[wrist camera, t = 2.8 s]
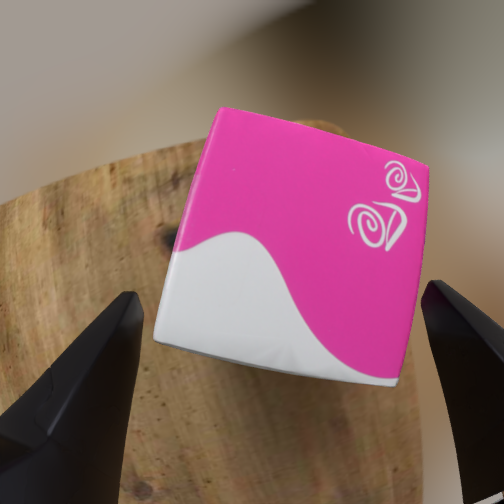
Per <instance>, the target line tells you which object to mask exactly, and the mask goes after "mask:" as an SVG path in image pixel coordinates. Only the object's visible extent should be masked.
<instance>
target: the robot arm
mask: <svg viewBox="0 0 504 504" xmlns="http://www.w3.org/2000/svg"><path fill="white" fill-rule="evenodd" d="M421 308H422V312H423V316H424V320H425V325H426V329H427V334H428V339H429V343H430V347H431V351H432V354H433V357H434V361H435V364H436V368H437V371H438V375H439V378H440V382H441V386H442V389H443V393H444V397H445V401H446V405H447V410H448V414H449V418H450V423H451V427H452V432H453V437H454V442H455V448H456V453H457V460H458V466H459V472H460V479H461V486H462V495H463V503H464V504H474V503H476V502H479V501H481V500H484V499H486V498H488V497H491V496H493V495H495V494H498V493H500V492H502V494H503V498H501V499H499V500H497V501H496V502H494V503H492V504H504V329H503V328H502V327H501V326H500V325H498V324H497V323H496V322H495V321H494V320H492V319H491V318H490V317H489V316H487V315H486V314H485V313H484V312H482V311H481V310H480V309H479V308H477V307H476V306H475V305H473V304H472V303H471V302H470V301H468V300H467V299H466V298H464V297H463V296H462V295H460V294H459V293H458V292H457V291H455V290H454V289H453V288H451V287H450V286H449V285H447V284H446V283H445V282H443V281H442V280H431V281H430V282H428V284H427V287H426V289H425V291H424V294H423V296H422V298H421ZM143 320H144V312H143V308H142V306H141V303H140V300H139V297H138V294H137V293H136V292H134V291H124V292H122V293H121V294H120V295H119V296H118V297H117V298H116V299H115V300H114V301H113V302H112V303H111V304H110V305H109V306H108V307H107V308H106V309H105V310H104V311H103V312H102V313H101V314H100V315H99V316H98V317H97V318H96V319H95V320H94V321H93V322H92V323H91V324H90V325H89V326H88V327H87V328H86V329H85V330H84V331H83V332H82V333H81V334H80V335H79V336H78V337H77V338H76V339H75V340H74V341H73V342H72V343H71V344H70V345H69V347H68V348H67V349H66V350H65V351H64V352H63V353H62V354H61V355H60V356H59V357H58V358H57V359H56V360H55V361H54V363H53V364H52V365H51V366H50V368H48V369H47V370H46V371H45V372H44V373H43V374H42V376H41V377H40V378H39V379H38V380H37V381H36V382H35V383H34V384H33V385H32V386H31V387H30V388H29V389H28V390H27V391H26V392H25V393H24V394H23V395H22V396H21V397H20V398H19V399H18V400H17V401H16V402H15V403H13V404H12V405H11V406H10V407H9V408H8V409H7V410H6V411H5V412H4V413H3V414H2V415H1V416H0V504H118V497H119V488H120V483H119V482H120V478H121V469H122V462H123V454H124V447H125V440H126V434H127V427H128V421H129V415H130V409H131V403H132V398H133V392H134V387H135V382H136V376H137V371H138V366H139V360H140V350H141V339H142V329H143Z"/></svg>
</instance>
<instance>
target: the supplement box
mask: <svg viewBox="0 0 504 504" xmlns="http://www.w3.org/2000/svg"><path fill="white" fill-rule="evenodd" d="M428 192H429V167H428V166H426V165H425V164H422V163H420V162H418V161H415V160H413V159H410V158H408V157H405V156H402V155H399V154H397V153H394V152H391V151H388V150H385V149H381V148H379V147H375V146H372V145H368V144H365V143H361V142H359V141H355V140H352V139H349V138H345V137H342V136H339V135H336V134H332V133H328V132H325V131H322V130H319V129H315V128H312V127H308V126H304V125H301V124H297V123H293V122H289V121H285V120H281V119H277V118H273V117H269V116H265V115H260V114H256V113H251V112H247V111H243V110H238V109H232V108H227V107H221V108H220V109H219V110H218V112H217V114H216V116H215V118H214V120H213V123H212V126H211V128H210V131H209V134H208V137H207V139H206V142H205V145H204V148H203V151H202V154H201V157H200V160H199V163H198V166H197V169H196V172H195V175H194V178H193V181H192V184H191V187H190V191H189V194H188V198H187V201H186V204H185V208H184V211H183V215H182V219H181V222H180V226H179V229H178V233H177V236H176V240H175V244H174V248H173V252H172V256H171V259H170V262H169V267H168V272H167V276H166V279H165V283H164V288H163V293H162V297H161V301H160V304H159V309H158V314H157V319H156V323H155V328H154V335H153V339H154V340H155V342H157V343H160V344H162V345H166V346H170V347H173V348H176V349H180V350H183V351H187V352H191V353H195V354H199V355H203V356H207V357H211V358H215V359H219V360H224V361H228V362H232V363H237V364H241V365H246V366H251V367H256V368H261V369H267V370H272V371H277V372H283V373H288V374H294V375H300V376H306V377H313V378H320V379H327V380H334V381H342V382H351V383H360V384H368V385H377V386H386V387H395V386H396V385H397V383H398V381H399V375H400V372H401V369H402V365H403V362H404V358H405V353H406V348H407V344H408V340H409V336H410V331H411V326H412V321H413V316H414V311H415V306H416V300H417V294H418V288H419V282H420V275H421V268H422V259H423V250H424V244H425V234H426V223H427V210H428Z"/></svg>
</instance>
